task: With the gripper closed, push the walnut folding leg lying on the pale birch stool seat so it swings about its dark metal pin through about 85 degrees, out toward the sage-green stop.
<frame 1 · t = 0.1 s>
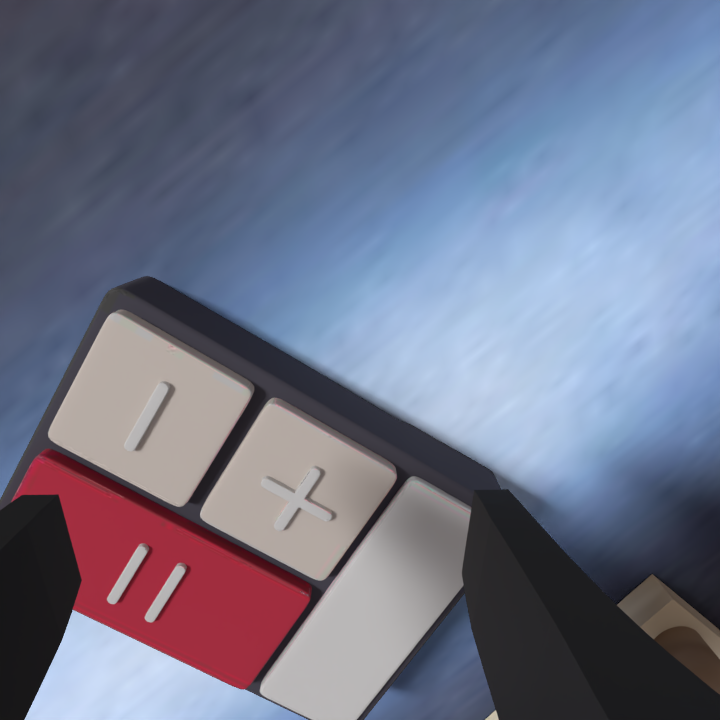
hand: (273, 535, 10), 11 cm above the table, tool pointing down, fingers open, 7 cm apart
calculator: (259, 487, 22), on the table
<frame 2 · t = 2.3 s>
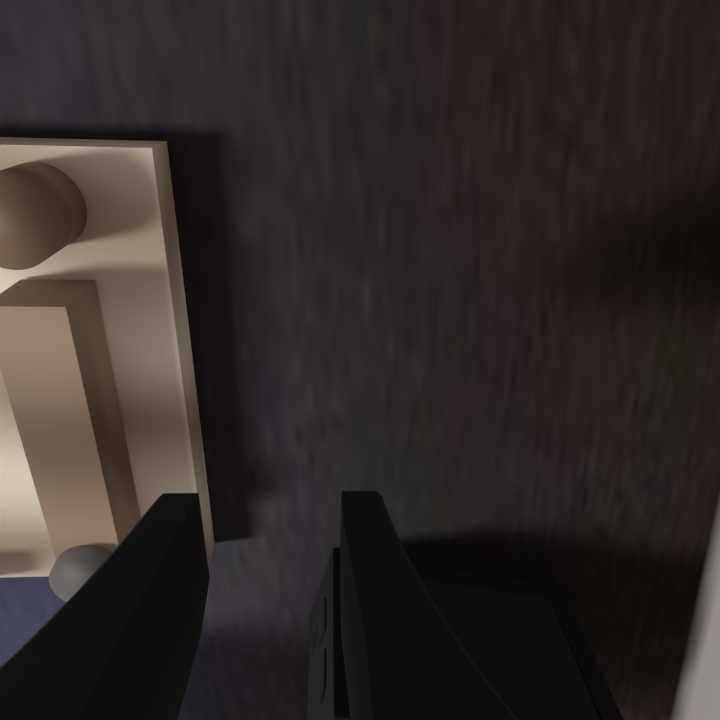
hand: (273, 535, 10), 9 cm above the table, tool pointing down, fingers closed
folding leg: (76, 455, 17), point 3 cm above the table, hinge at 0.0°
digital camera: (429, 605, 25), on the table
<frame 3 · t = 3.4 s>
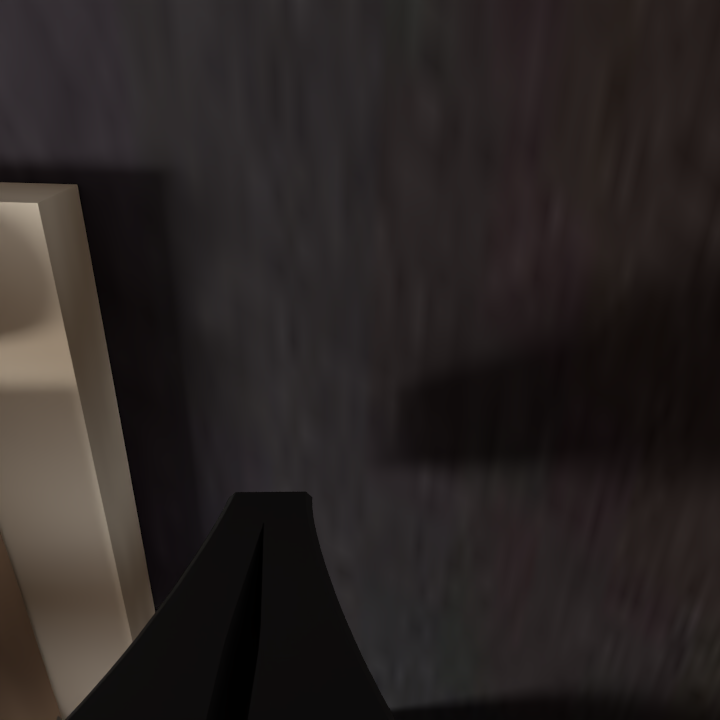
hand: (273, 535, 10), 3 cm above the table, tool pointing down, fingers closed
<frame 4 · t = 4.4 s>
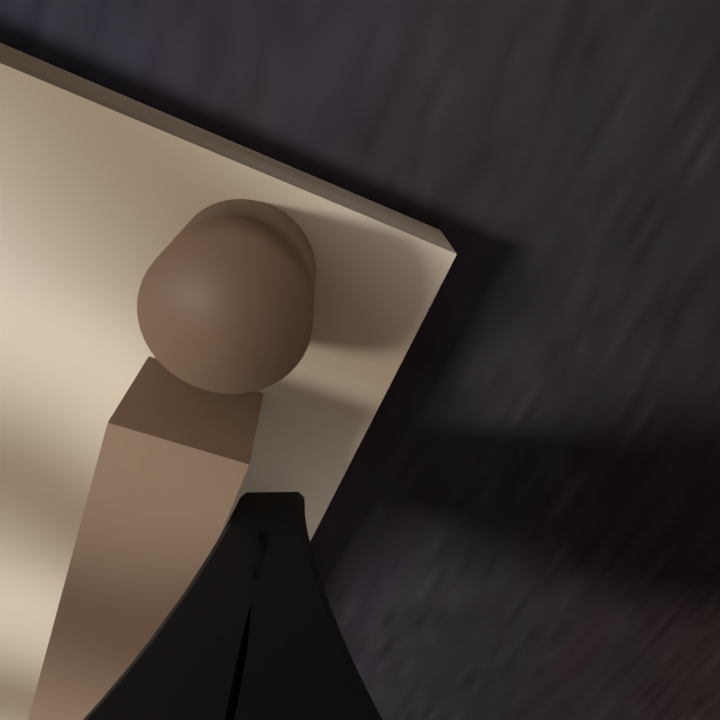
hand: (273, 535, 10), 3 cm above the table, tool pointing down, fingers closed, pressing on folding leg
folding leg: (119, 628, 11), point 3 cm above the table, hinge at 0.2°, touching gripper
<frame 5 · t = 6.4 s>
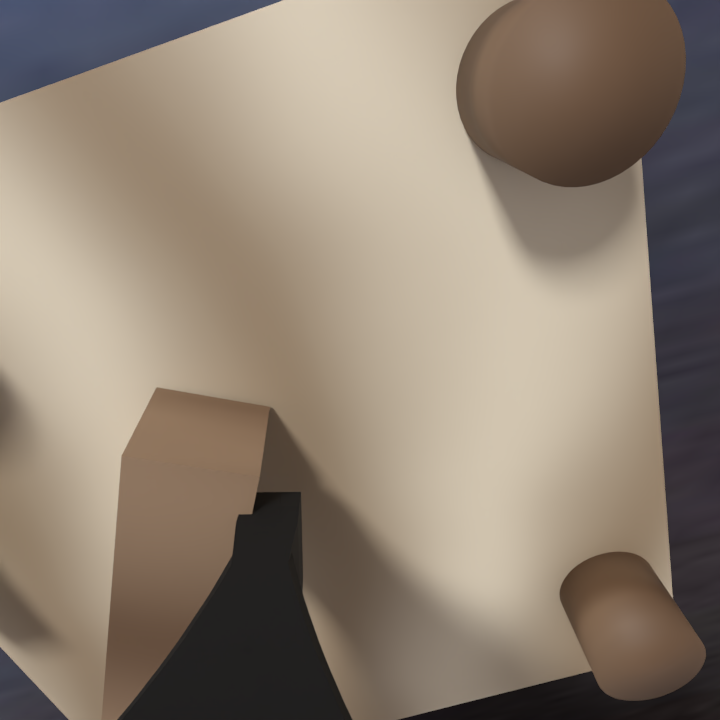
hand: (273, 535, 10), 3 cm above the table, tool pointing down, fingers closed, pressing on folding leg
folding leg: (170, 646, 11), point 3 cm above the table, hinge at 59.0°, touching gripper
stool seat: (290, 454, 13), on the table
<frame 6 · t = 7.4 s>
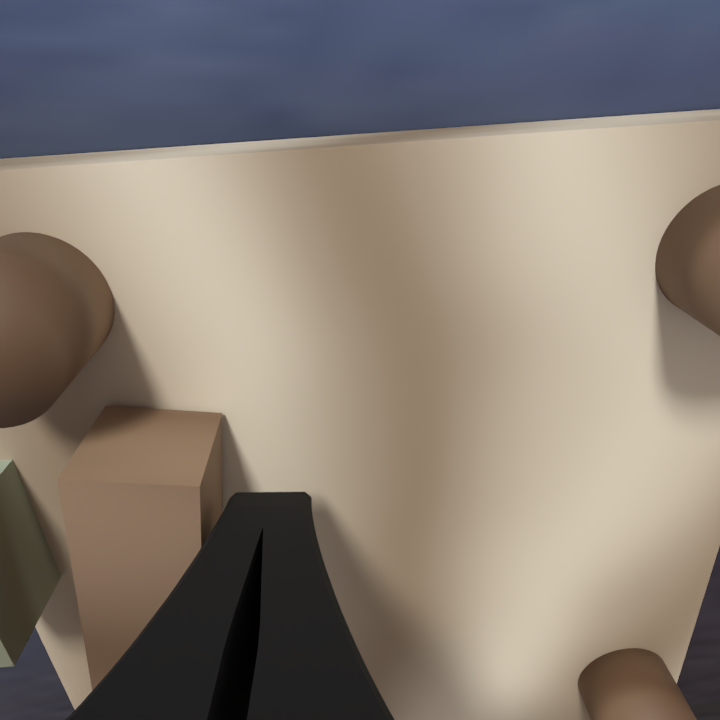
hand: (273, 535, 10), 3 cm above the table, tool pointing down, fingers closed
folding leg: (160, 661, 11), point 3 cm above the table, hinge at 80.4°, touching gripper
stool seat: (369, 502, 13), on the table
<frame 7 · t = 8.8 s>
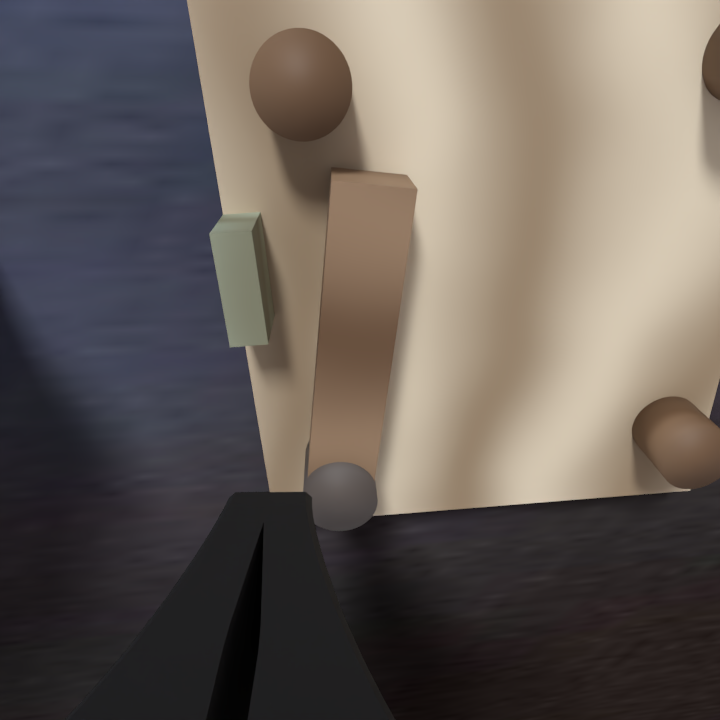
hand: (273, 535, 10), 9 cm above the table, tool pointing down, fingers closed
folding leg: (351, 363, 16), point 3 cm above the table, hinge at 80.5°
stool seat: (482, 281, 18), on the table
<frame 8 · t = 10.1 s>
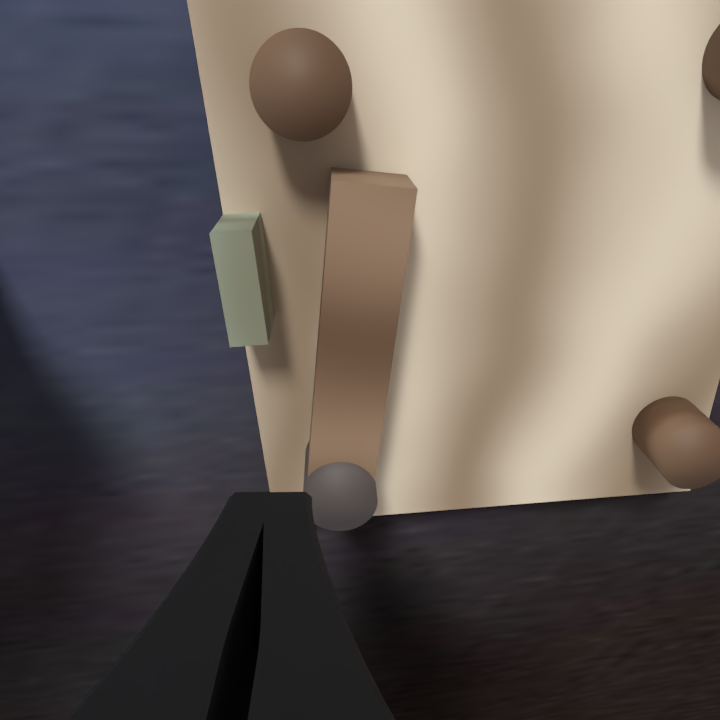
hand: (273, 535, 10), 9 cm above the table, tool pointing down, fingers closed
folding leg: (351, 363, 16), point 3 cm above the table, hinge at 80.5°
stool seat: (482, 281, 18), on the table
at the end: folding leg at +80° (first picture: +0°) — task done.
